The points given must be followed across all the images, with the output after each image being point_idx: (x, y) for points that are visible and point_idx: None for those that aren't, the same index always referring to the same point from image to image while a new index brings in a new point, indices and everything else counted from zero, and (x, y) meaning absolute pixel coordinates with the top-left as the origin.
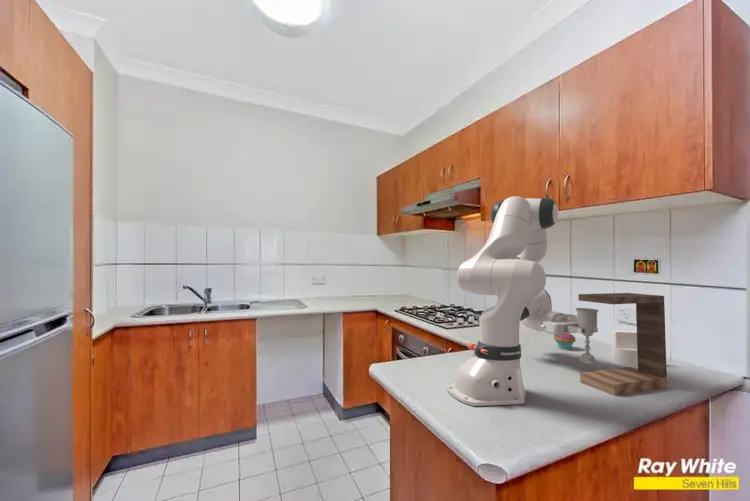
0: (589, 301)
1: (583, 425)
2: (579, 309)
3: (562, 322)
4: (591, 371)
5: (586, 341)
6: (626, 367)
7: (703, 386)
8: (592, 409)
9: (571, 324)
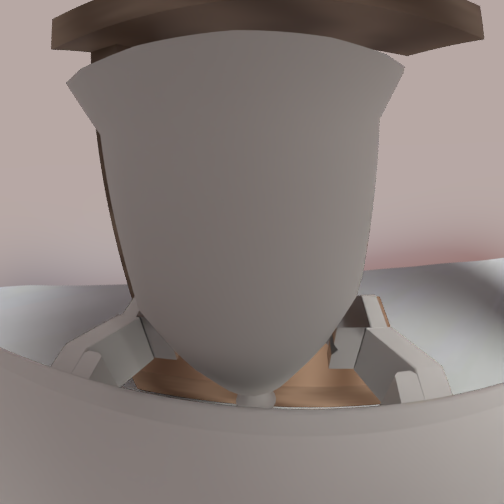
0: (450, 44)
1: (490, 267)
2: (166, 81)
3: (485, 481)
4: (349, 385)
5: (272, 393)
6: (149, 368)
7: (98, 289)
8: (461, 290)
9: (379, 406)
